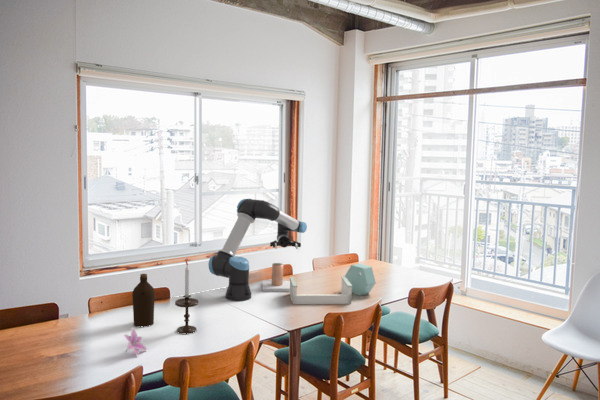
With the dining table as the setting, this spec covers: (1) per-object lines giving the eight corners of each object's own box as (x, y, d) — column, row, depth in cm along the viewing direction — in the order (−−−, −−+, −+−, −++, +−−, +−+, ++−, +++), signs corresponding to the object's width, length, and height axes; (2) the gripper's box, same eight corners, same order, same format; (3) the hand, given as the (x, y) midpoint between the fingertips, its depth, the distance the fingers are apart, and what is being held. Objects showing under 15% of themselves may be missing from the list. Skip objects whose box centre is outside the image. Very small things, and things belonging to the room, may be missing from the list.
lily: (122, 364, 201) (133, 344, 200) (109, 345, 208) (120, 326, 207) (145, 363, 211) (156, 344, 210) (132, 345, 218) (143, 327, 217)
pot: (271, 285, 310) (272, 265, 308) (271, 282, 317) (272, 262, 315) (282, 285, 311) (283, 265, 309) (281, 282, 318) (282, 263, 316)
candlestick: (177, 336, 229) (177, 262, 226) (173, 328, 239) (173, 257, 235) (200, 333, 234) (201, 260, 230) (195, 325, 243) (196, 256, 240)
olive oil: (158, 324, 243) (158, 275, 241) (138, 329, 236) (138, 278, 234) (148, 318, 251) (148, 270, 248) (128, 323, 244) (128, 273, 241)
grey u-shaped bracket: (292, 304, 281) (292, 285, 280) (289, 293, 301) (289, 276, 300) (351, 303, 285) (352, 285, 284) (344, 293, 305) (345, 276, 304)
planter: (365, 299, 310) (380, 276, 299) (356, 301, 305) (371, 278, 294) (349, 280, 320) (363, 257, 309) (341, 281, 315) (355, 258, 304)
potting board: (263, 291, 304) (263, 288, 304) (262, 283, 322) (262, 280, 322) (292, 291, 306) (292, 288, 306) (289, 283, 324) (289, 280, 324)
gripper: (301, 246, 341) (305, 252, 320) (265, 246, 337) (267, 252, 317) (301, 236, 340) (306, 241, 319) (265, 235, 337) (267, 240, 316)
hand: (286, 246), depth 318 cm, fingers open, 13 cm apart
